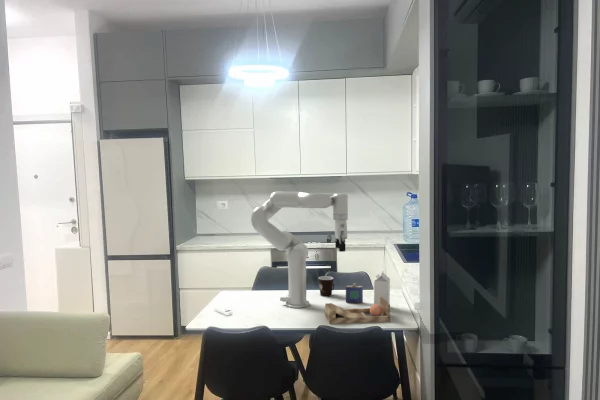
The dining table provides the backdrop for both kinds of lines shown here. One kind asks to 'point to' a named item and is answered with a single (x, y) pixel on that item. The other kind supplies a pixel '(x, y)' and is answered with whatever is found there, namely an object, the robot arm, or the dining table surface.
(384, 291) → the milk carton
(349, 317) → the wooden tray
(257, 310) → the dining table surface
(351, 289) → the flask
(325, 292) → the coffee mug
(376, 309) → the ball
